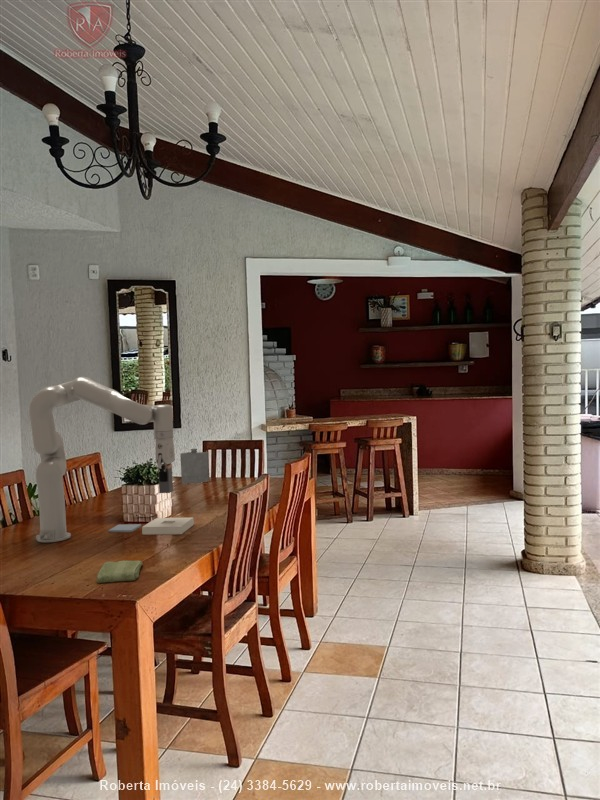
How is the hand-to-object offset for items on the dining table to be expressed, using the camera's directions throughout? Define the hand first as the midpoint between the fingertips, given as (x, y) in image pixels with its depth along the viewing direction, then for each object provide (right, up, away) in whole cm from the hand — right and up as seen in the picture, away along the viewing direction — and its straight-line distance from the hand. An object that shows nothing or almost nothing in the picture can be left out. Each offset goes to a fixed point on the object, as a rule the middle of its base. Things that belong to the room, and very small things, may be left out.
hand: (165, 480), depth 267 cm
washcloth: (-3, -24, -57) cm, 62 cm away
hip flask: (-6, -16, +113) cm, 114 cm away
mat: (-17, -21, +5) cm, 27 cm away
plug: (0, -5, 0) cm, 5 cm away
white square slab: (+1, -20, +1) cm, 20 cm away
